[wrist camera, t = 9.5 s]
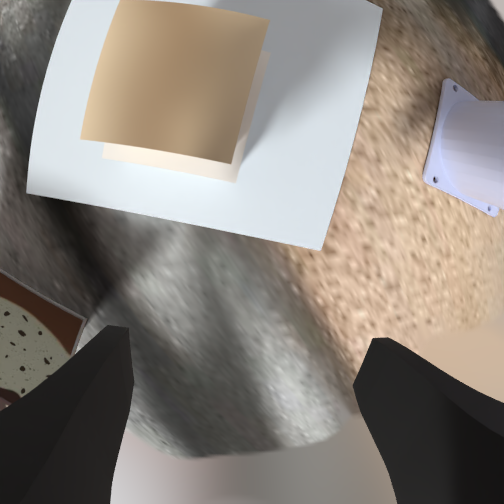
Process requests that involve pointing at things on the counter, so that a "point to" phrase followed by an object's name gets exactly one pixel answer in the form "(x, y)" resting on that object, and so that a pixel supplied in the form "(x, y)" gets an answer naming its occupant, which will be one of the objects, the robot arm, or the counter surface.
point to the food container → (32, 338)
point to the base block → (193, 163)
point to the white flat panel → (260, 134)
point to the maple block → (174, 78)
